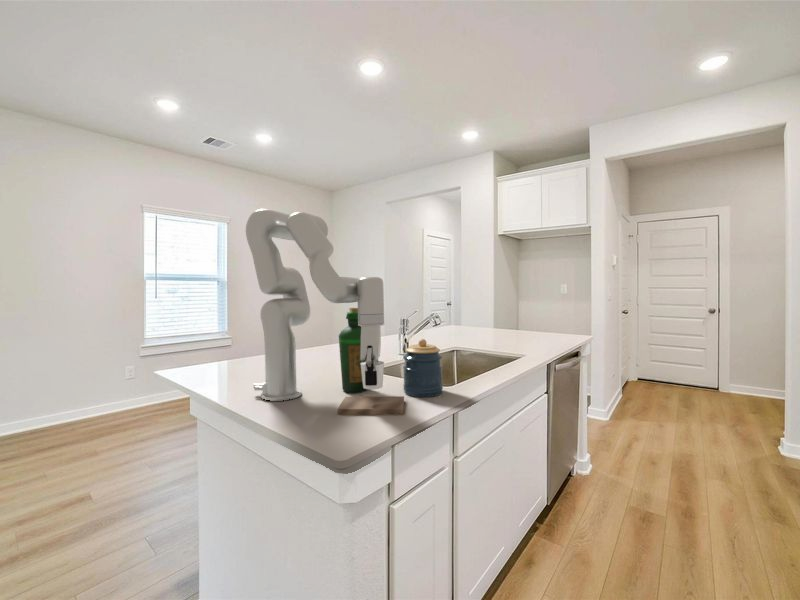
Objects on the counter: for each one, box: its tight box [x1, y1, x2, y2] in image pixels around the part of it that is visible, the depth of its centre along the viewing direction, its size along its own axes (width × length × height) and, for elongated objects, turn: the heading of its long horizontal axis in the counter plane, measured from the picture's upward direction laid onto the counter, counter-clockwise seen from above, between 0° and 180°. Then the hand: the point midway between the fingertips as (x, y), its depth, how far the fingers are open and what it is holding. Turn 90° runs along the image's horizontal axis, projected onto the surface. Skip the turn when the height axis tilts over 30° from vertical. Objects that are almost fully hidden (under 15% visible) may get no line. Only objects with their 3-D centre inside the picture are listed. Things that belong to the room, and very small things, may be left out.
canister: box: [402, 338, 444, 398], centre depth 122 cm, size 13×13×18 cm
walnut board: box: [336, 395, 405, 416], centre depth 107 cm, size 18×12×2 cm, turn 88°
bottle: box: [338, 307, 368, 394], centre depth 126 cm, size 11×11×28 cm
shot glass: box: [361, 360, 385, 390], centre depth 107 cm, size 7×7×7 cm
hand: (372, 381), depth 107 cm, fingers closed on shot glass, 6 cm apart
